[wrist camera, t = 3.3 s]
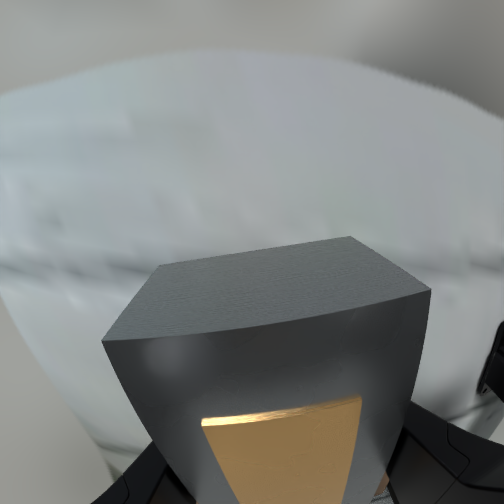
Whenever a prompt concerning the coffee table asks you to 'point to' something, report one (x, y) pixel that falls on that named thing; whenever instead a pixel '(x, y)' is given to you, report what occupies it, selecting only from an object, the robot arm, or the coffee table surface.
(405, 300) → the block
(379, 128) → the coffee table surface
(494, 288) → the coffee table surface
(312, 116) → the coffee table surface
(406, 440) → the robot arm
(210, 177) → the coffee table surface
